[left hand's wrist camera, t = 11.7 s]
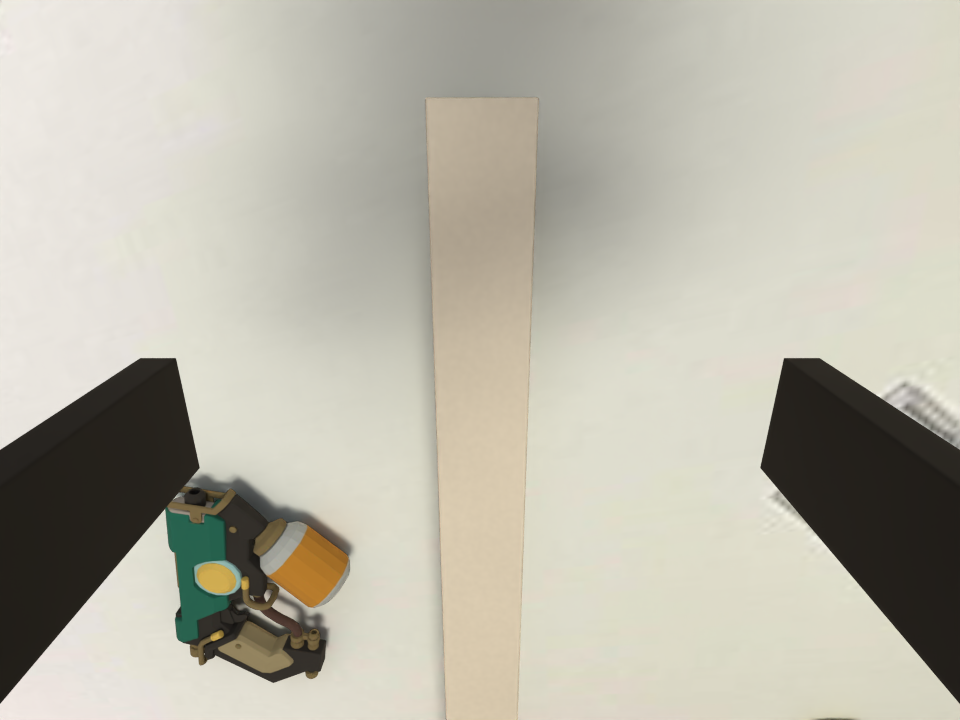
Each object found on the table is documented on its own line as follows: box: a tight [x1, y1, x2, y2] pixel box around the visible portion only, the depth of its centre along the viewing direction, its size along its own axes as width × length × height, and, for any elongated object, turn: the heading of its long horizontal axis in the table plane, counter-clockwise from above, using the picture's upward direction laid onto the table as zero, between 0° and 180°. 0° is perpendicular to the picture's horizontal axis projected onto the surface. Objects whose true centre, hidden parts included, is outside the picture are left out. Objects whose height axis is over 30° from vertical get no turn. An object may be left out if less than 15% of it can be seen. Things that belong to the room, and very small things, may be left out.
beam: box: [425, 97, 539, 720], centre depth 39 cm, size 60×5×8 cm, turn 0°
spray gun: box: [165, 486, 350, 683], centre depth 42 cm, size 4×17×15 cm
